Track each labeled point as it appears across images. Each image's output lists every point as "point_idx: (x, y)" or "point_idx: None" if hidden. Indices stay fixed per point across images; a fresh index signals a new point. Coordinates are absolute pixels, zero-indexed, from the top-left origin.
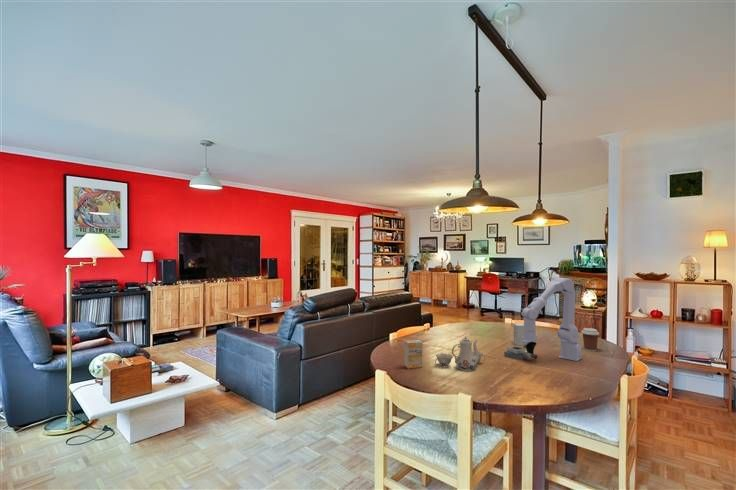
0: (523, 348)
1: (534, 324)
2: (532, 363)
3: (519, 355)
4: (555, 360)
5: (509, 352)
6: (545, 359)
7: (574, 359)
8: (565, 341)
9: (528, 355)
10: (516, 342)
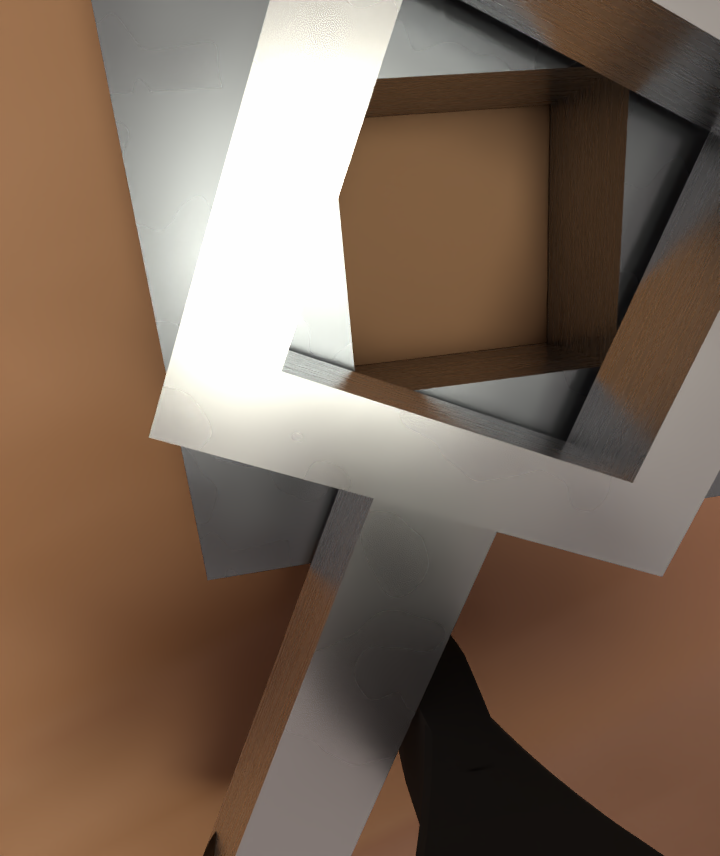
0: (696, 433)
1: None
2: (195, 749)
3: (193, 495)
4: (690, 826)
5: (209, 52)
6: (643, 725)
7: None
8: None
9: (245, 767)
10: None
